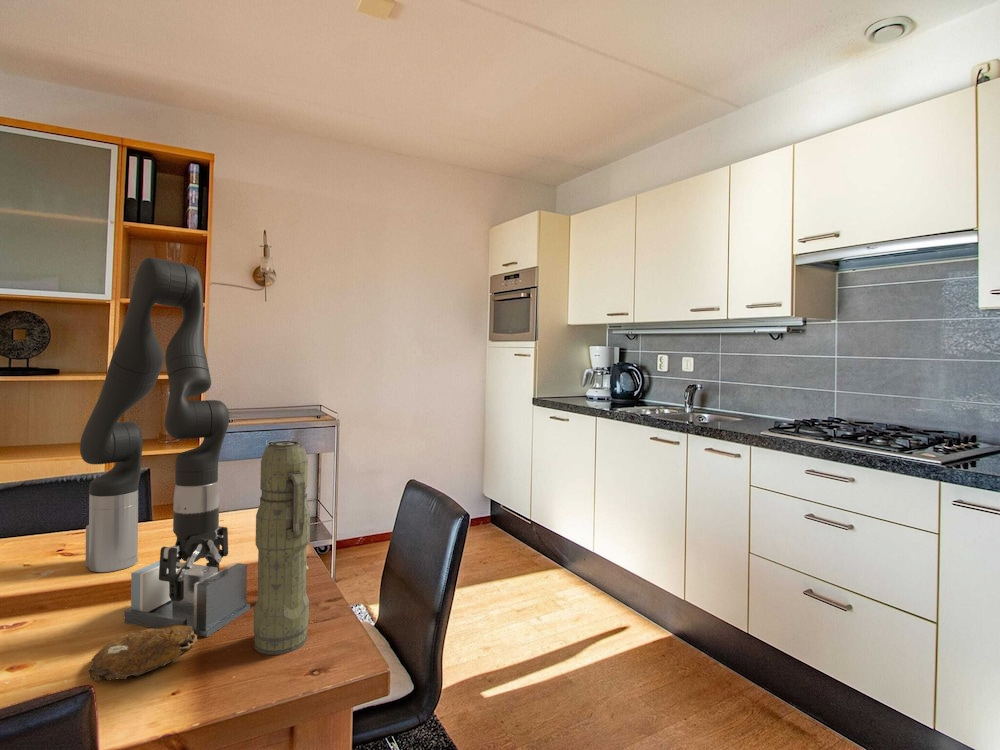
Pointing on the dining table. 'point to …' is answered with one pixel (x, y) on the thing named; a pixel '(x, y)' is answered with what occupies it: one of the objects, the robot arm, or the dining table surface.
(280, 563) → the thermos
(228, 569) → the vise
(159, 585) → the block
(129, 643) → the decorative rock
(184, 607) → the steel block
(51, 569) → the dining table surface
